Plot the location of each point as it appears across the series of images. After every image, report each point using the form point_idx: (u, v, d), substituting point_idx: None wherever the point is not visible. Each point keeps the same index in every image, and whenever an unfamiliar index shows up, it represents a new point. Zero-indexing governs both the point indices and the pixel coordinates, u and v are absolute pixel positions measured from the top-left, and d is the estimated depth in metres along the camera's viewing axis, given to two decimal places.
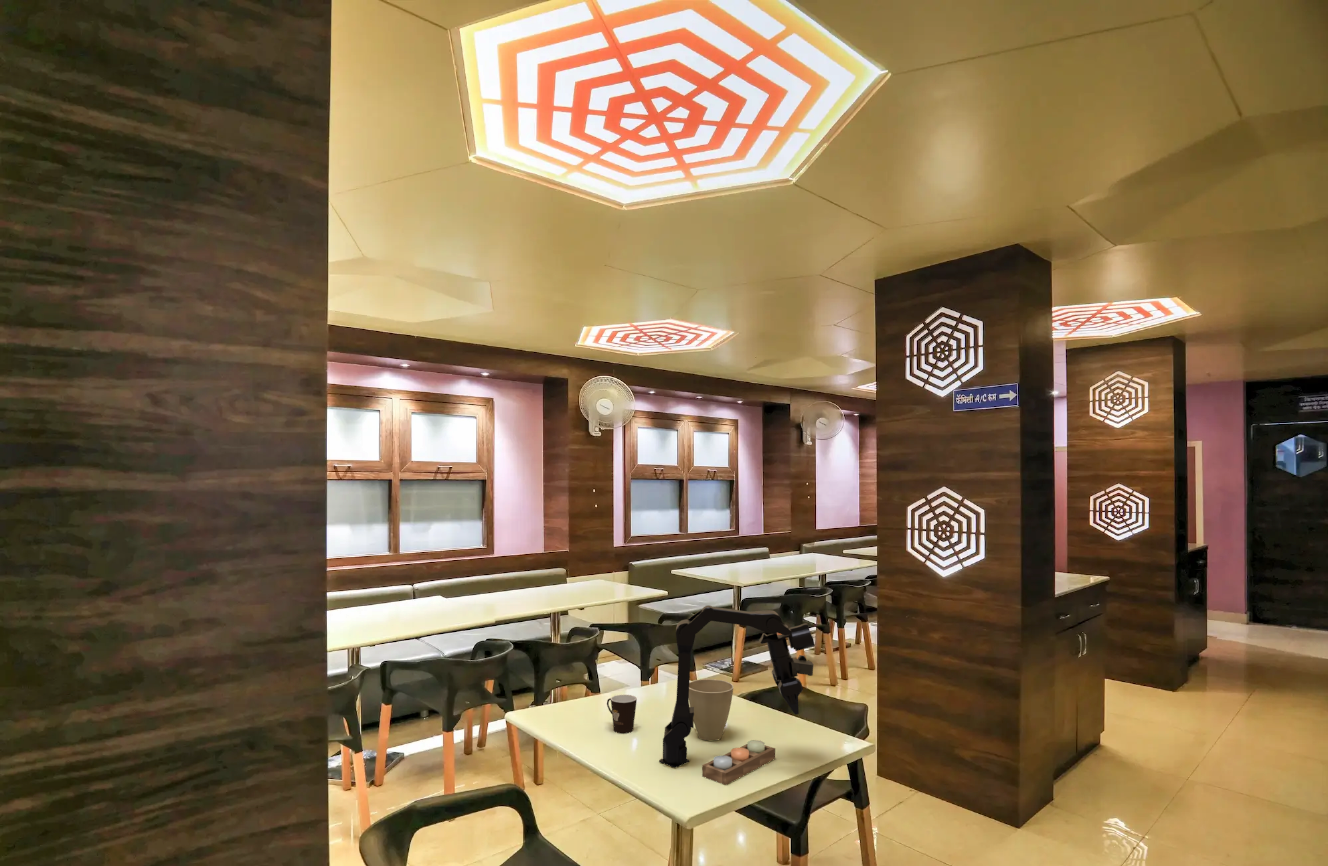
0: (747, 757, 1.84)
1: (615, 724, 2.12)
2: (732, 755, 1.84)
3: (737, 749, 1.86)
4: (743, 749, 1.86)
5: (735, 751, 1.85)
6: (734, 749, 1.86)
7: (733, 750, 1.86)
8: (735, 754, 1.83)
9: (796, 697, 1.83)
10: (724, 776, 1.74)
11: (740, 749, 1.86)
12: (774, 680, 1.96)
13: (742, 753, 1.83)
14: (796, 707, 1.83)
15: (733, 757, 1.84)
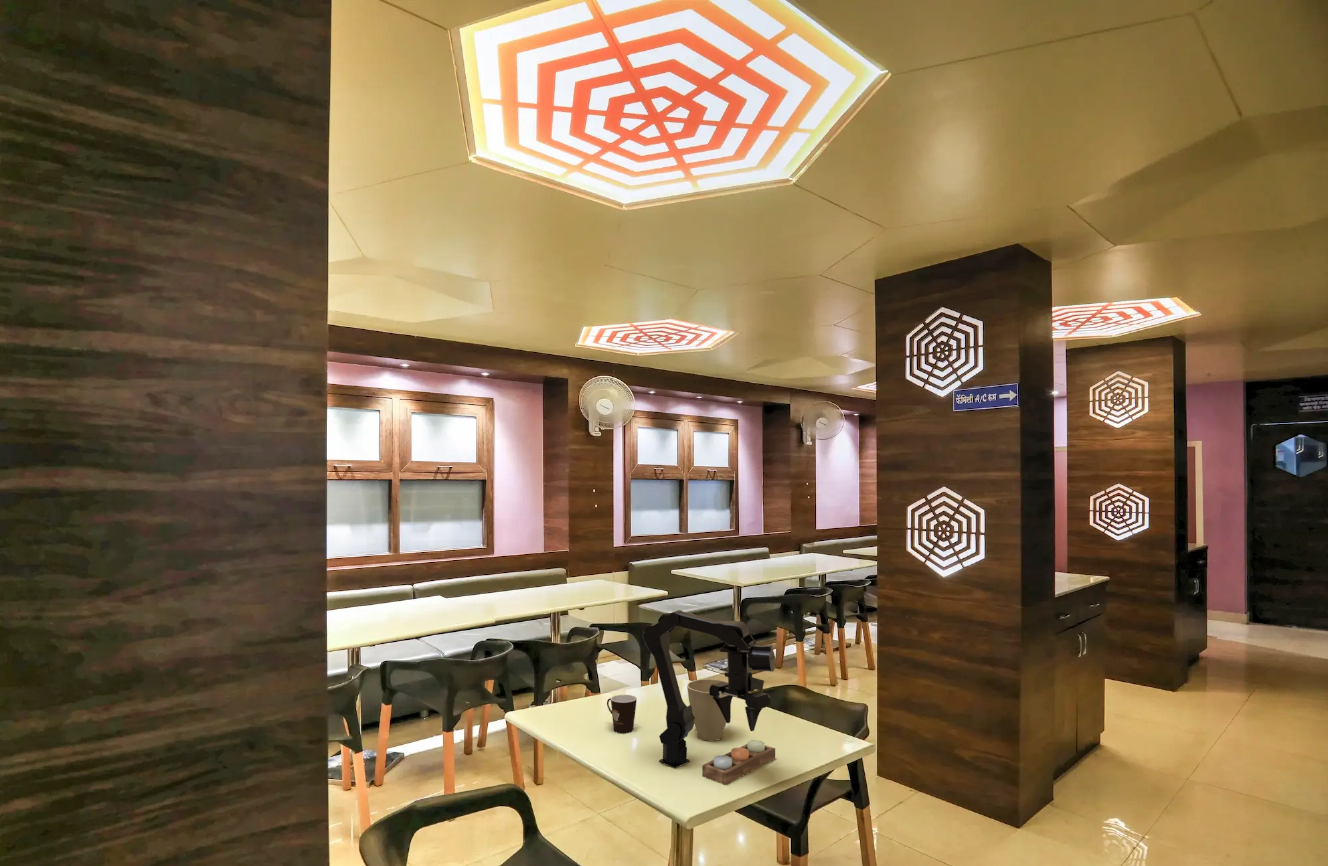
0: (747, 757, 1.84)
1: (615, 724, 2.12)
2: (732, 755, 1.84)
3: (737, 749, 1.86)
4: (743, 749, 1.86)
5: (735, 751, 1.85)
6: (734, 749, 1.86)
7: (733, 750, 1.86)
8: (735, 754, 1.83)
9: (758, 712, 1.78)
10: (724, 776, 1.74)
11: (740, 749, 1.86)
12: (713, 697, 1.86)
13: (742, 753, 1.83)
14: (754, 723, 1.78)
15: (733, 757, 1.84)
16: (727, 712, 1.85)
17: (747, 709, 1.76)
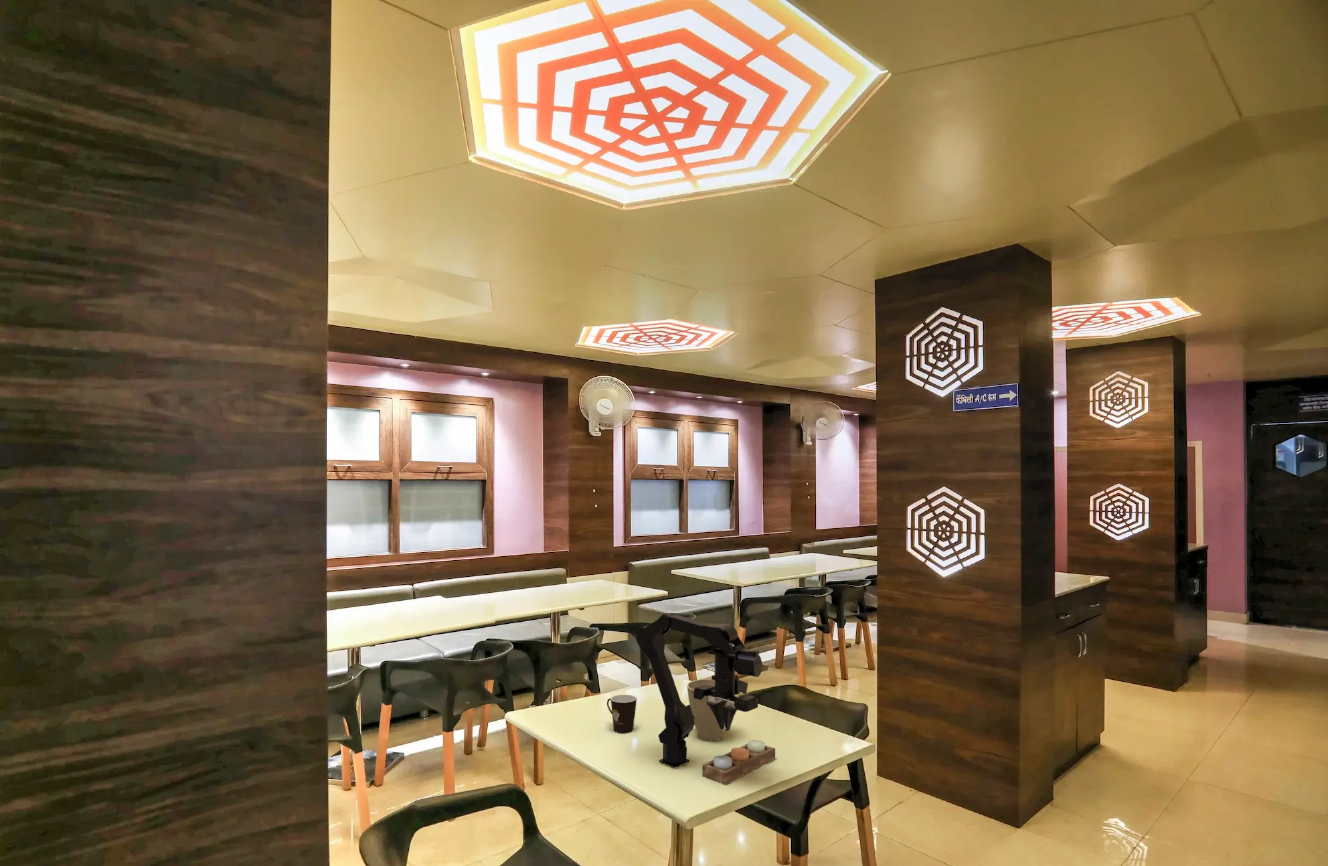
0: (747, 757, 1.84)
1: (615, 724, 2.12)
2: (732, 755, 1.84)
3: (737, 749, 1.86)
4: (743, 749, 1.86)
5: (735, 751, 1.85)
6: (734, 749, 1.86)
7: (733, 750, 1.86)
8: (735, 754, 1.83)
9: (734, 712, 1.81)
10: (724, 776, 1.74)
11: (740, 749, 1.86)
12: (708, 703, 1.82)
13: (742, 753, 1.83)
14: (730, 723, 1.80)
15: (733, 757, 1.84)
16: (721, 718, 1.82)
17: (725, 709, 1.78)
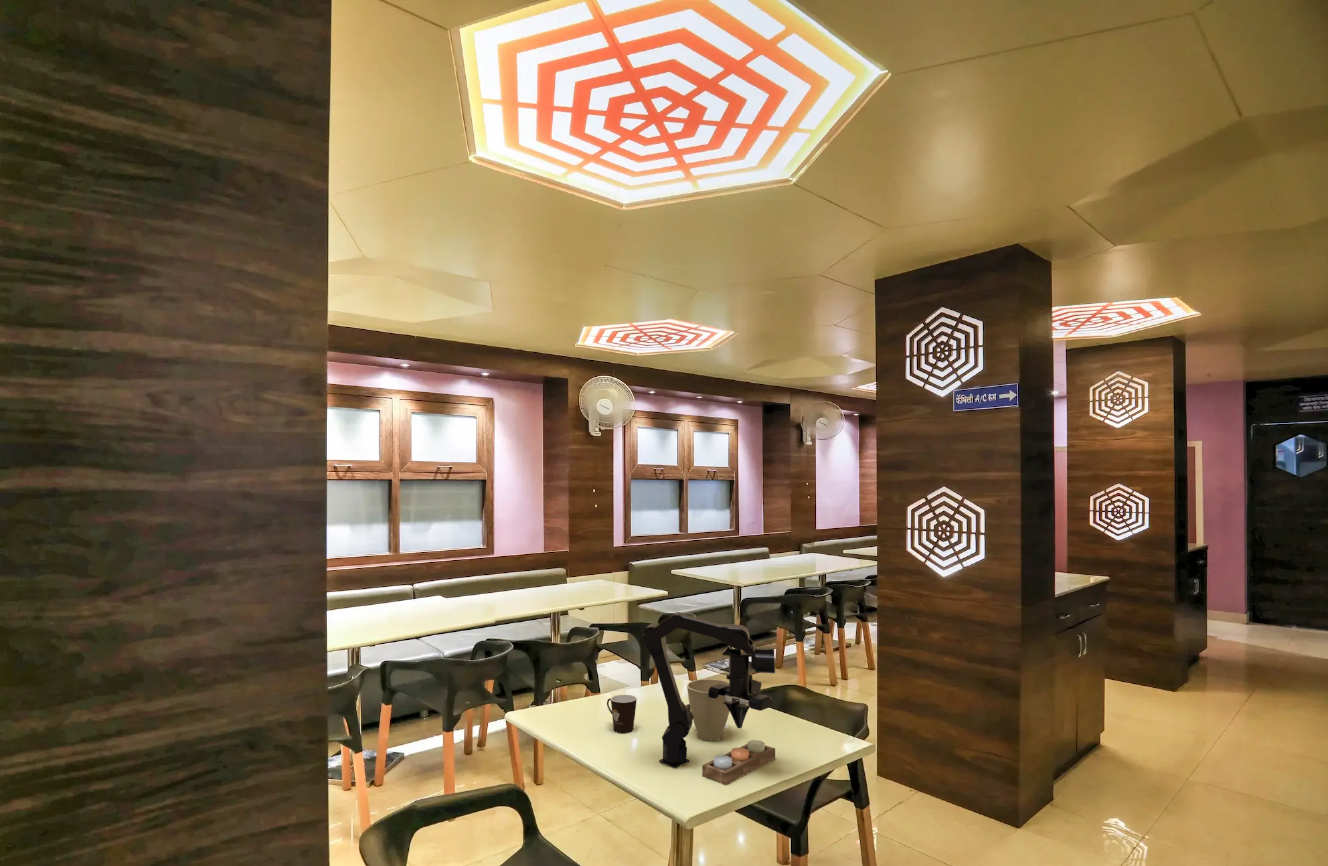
0: (747, 757, 1.84)
1: (615, 724, 2.12)
2: (732, 755, 1.84)
3: (737, 749, 1.86)
4: (743, 749, 1.86)
5: (735, 751, 1.85)
6: (734, 749, 1.86)
7: (733, 750, 1.86)
8: (735, 754, 1.83)
9: (746, 710, 1.86)
10: (724, 776, 1.74)
11: (740, 749, 1.86)
12: (725, 702, 1.86)
13: (742, 753, 1.83)
14: (742, 720, 1.86)
15: (733, 757, 1.84)
16: None
17: (737, 707, 1.83)
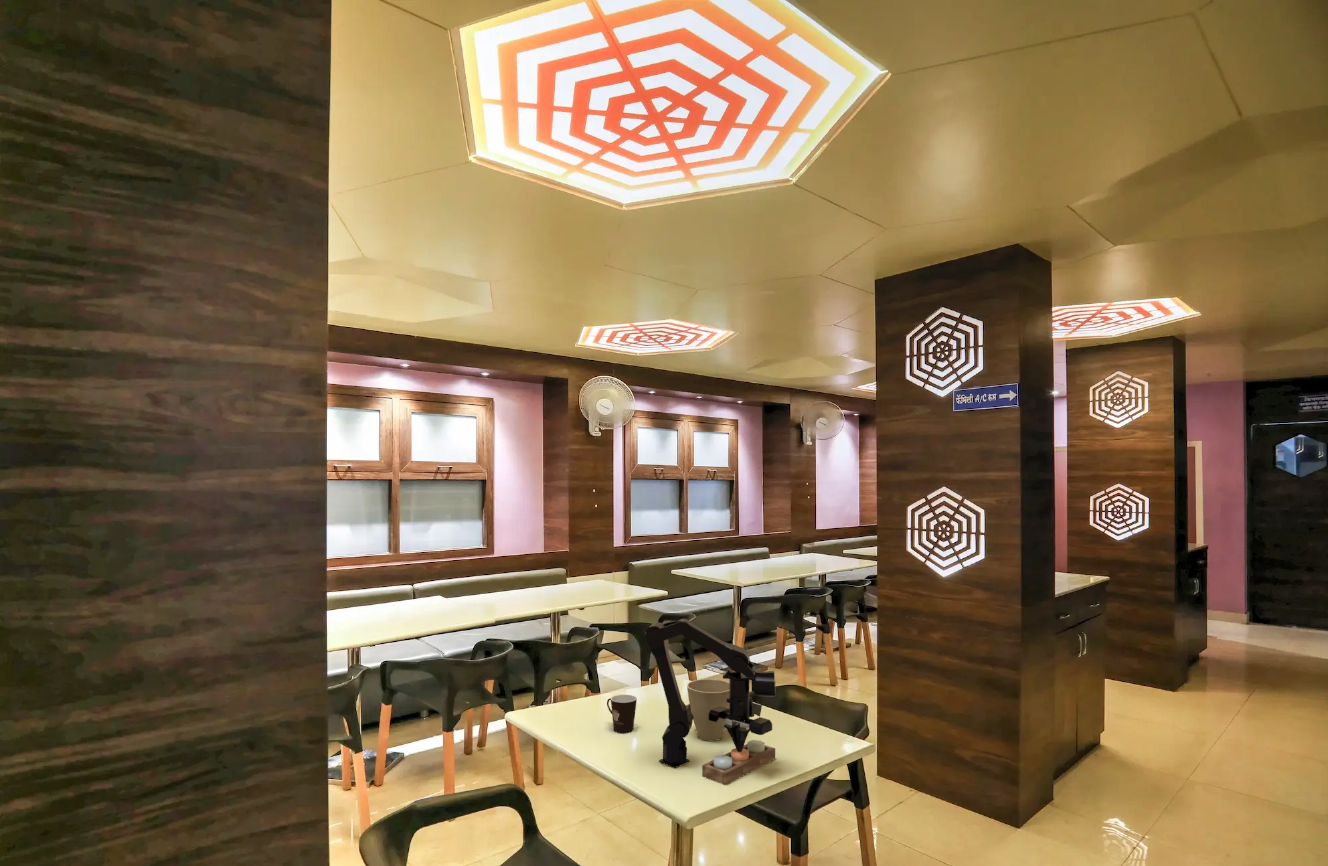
0: (747, 758, 1.84)
1: (615, 724, 2.12)
2: (732, 756, 1.84)
3: None
4: (743, 750, 1.86)
5: (735, 751, 1.85)
6: (734, 750, 1.86)
7: (733, 751, 1.86)
8: (735, 754, 1.83)
9: (746, 734, 1.85)
10: (724, 776, 1.74)
11: None
12: (725, 726, 1.86)
13: (742, 754, 1.83)
14: (743, 744, 1.85)
15: (733, 758, 1.84)
16: None
17: (738, 731, 1.83)
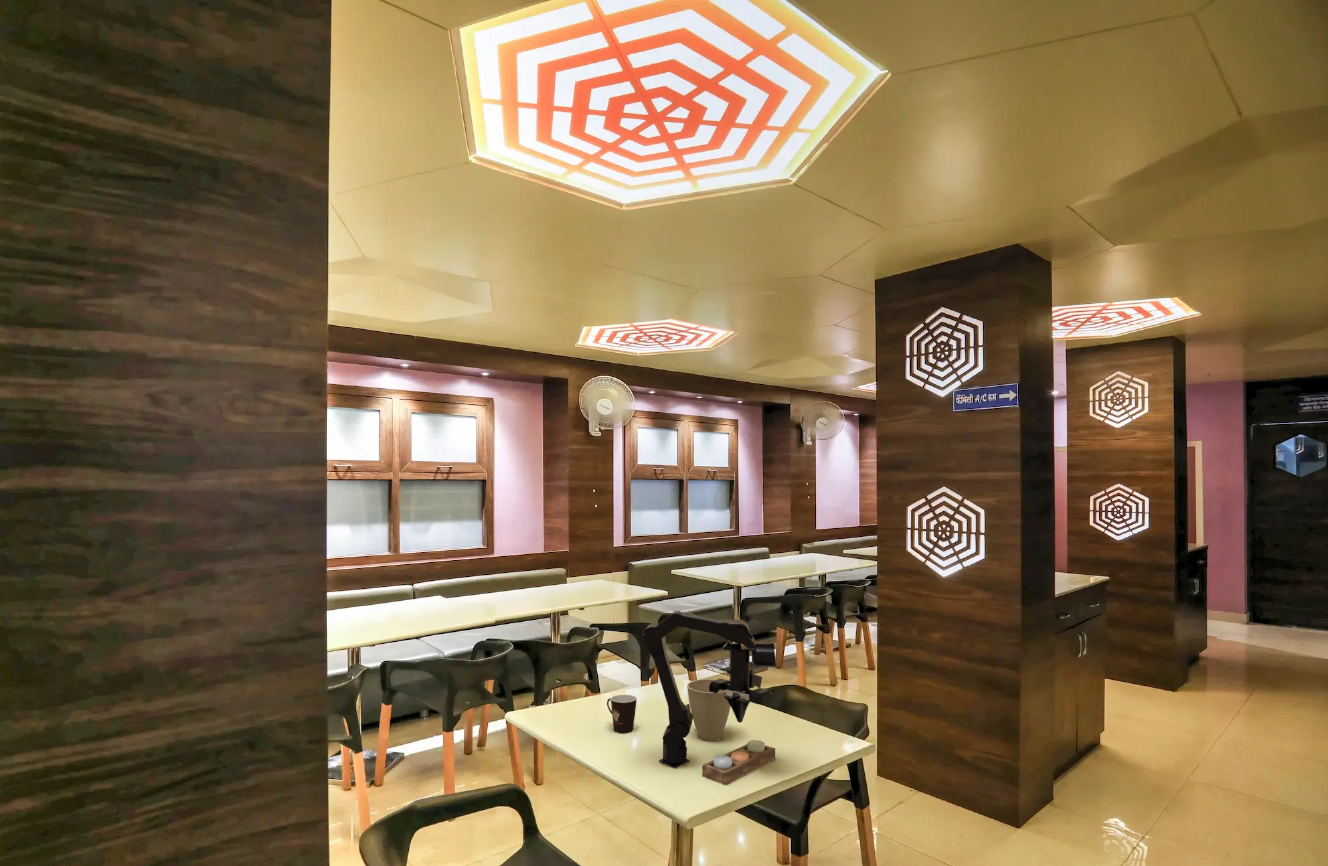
0: None
1: (615, 724, 2.12)
2: None
3: (737, 753, 1.86)
4: (743, 753, 1.86)
5: (735, 755, 1.85)
6: (734, 753, 1.86)
7: (733, 754, 1.86)
8: (735, 758, 1.83)
9: (747, 704, 1.87)
10: (724, 776, 1.74)
11: (740, 753, 1.86)
12: (726, 697, 1.87)
13: (742, 757, 1.83)
14: (743, 715, 1.87)
15: None
16: None
17: (738, 701, 1.84)
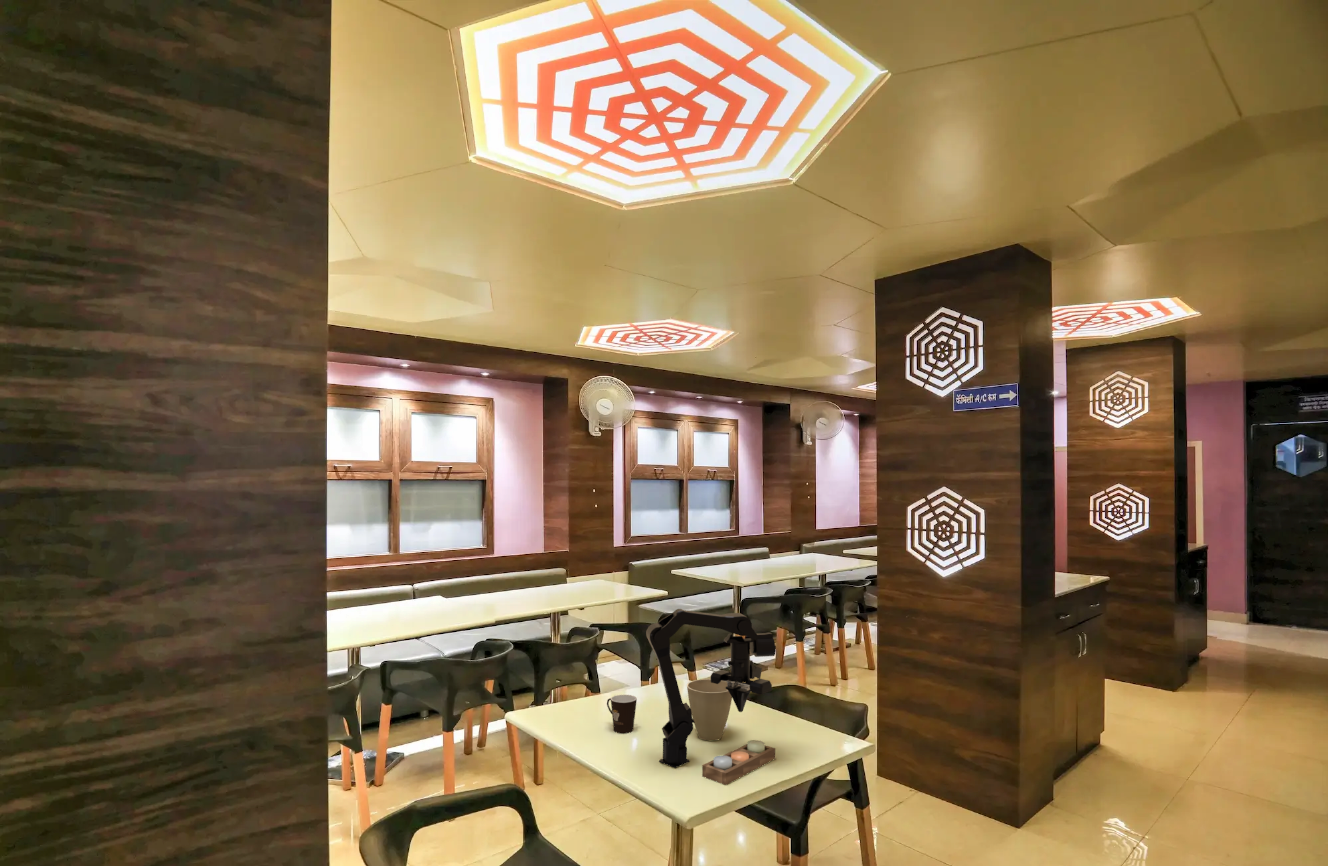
0: None
1: (615, 724, 2.12)
2: None
3: (737, 753, 1.86)
4: (743, 753, 1.86)
5: (735, 755, 1.85)
6: (734, 753, 1.86)
7: (733, 754, 1.86)
8: (735, 758, 1.83)
9: (747, 694, 1.93)
10: (724, 776, 1.74)
11: (740, 753, 1.86)
12: (727, 687, 1.94)
13: (742, 757, 1.83)
14: (744, 704, 1.93)
15: None
16: None
17: (739, 692, 1.91)
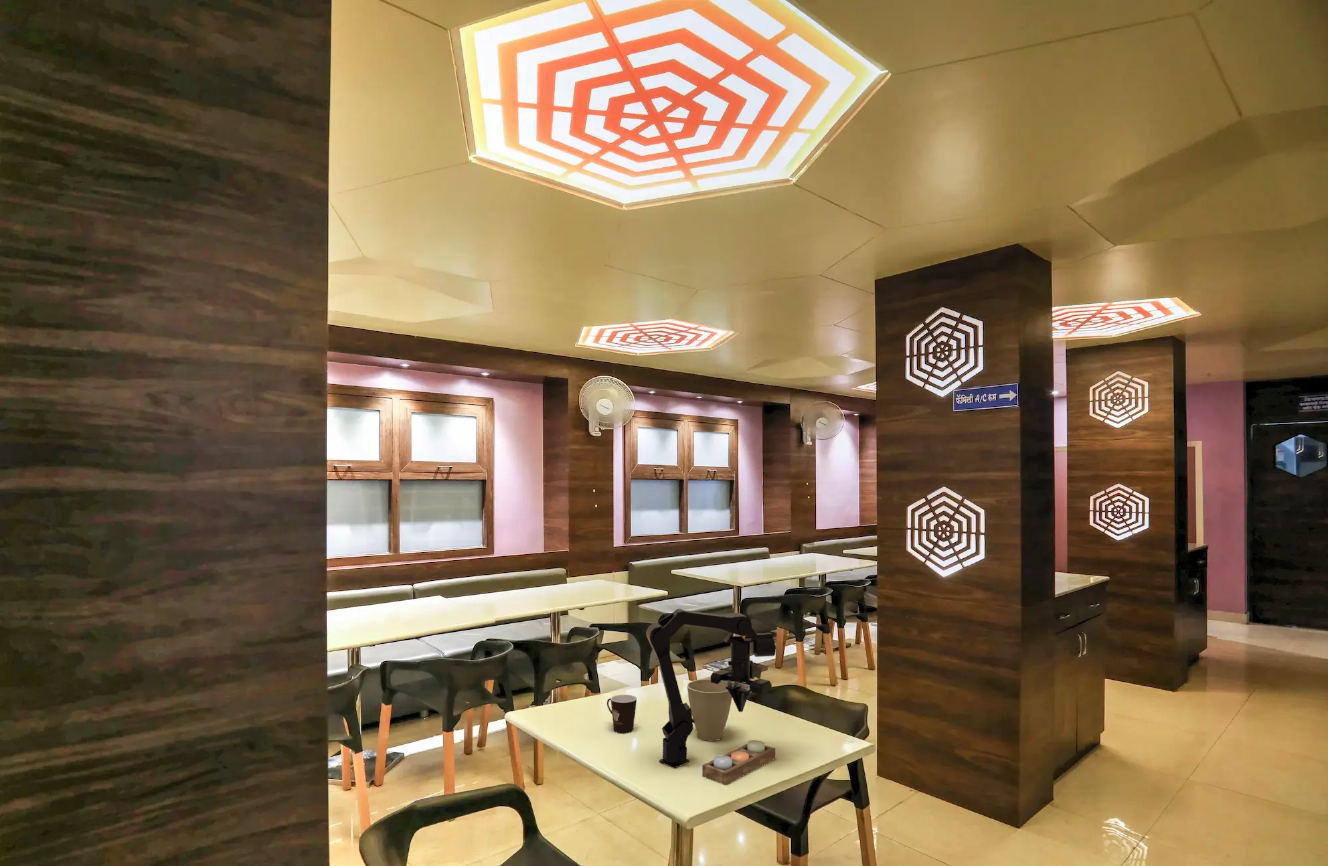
0: None
1: (615, 724, 2.12)
2: None
3: (737, 753, 1.86)
4: (743, 753, 1.86)
5: (735, 755, 1.85)
6: (734, 753, 1.86)
7: (733, 754, 1.86)
8: (735, 758, 1.83)
9: (747, 694, 1.93)
10: (724, 776, 1.74)
11: (740, 753, 1.86)
12: (727, 687, 1.94)
13: (742, 757, 1.83)
14: (744, 704, 1.93)
15: None
16: None
17: (739, 692, 1.91)
